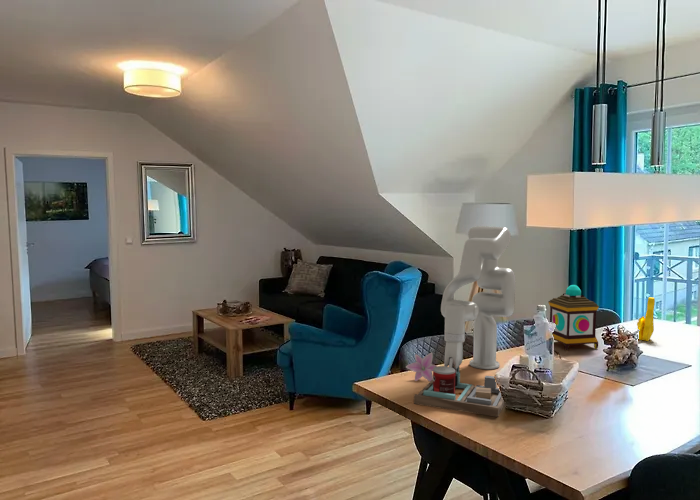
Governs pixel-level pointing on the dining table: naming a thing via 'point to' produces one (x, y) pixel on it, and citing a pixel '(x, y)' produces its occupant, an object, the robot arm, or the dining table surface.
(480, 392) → the tan wooden cube
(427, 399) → the divided compartment tray
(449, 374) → the canned food
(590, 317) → the decorative lantern
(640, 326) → the yellow foam finger
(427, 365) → the lily
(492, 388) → the grey organizer tray
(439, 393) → the teal rectangular frame
